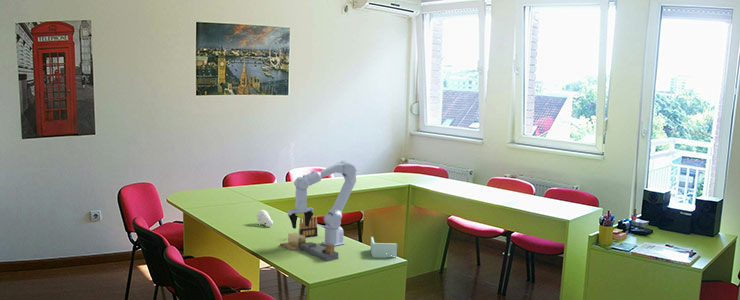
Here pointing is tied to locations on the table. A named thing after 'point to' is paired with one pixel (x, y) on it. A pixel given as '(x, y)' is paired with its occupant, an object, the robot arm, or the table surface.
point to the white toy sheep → (264, 218)
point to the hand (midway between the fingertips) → (300, 227)
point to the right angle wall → (383, 249)
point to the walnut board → (289, 246)
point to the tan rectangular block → (296, 239)
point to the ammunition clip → (308, 227)
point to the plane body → (320, 251)
